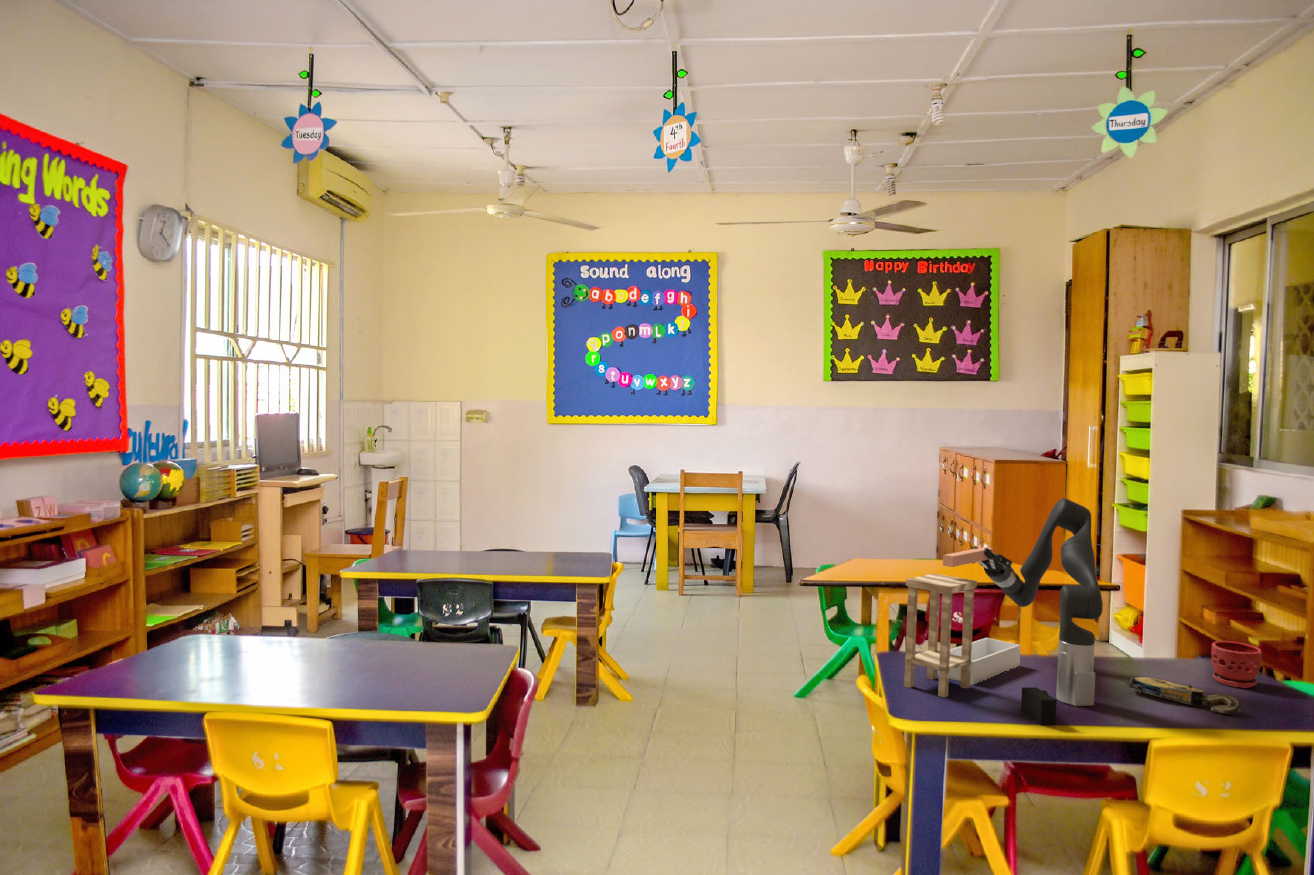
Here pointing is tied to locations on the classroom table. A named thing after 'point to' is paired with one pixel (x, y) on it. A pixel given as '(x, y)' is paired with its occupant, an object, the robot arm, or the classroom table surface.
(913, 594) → the tall stand
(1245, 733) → the classroom table surface
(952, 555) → the brown rectangular block
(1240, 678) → the plant pot
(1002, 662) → the grey bin
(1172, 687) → the pulley block
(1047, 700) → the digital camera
